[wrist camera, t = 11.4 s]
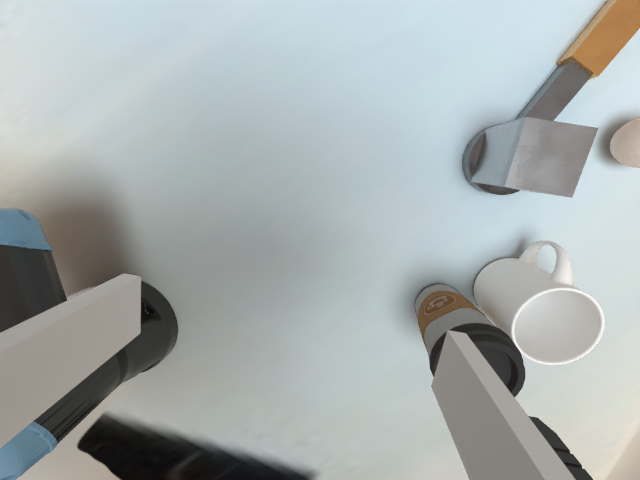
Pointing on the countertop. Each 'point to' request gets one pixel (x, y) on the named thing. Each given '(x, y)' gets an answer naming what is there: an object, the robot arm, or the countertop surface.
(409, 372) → the countertop surface
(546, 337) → the mug
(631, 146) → the egg
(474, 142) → the ratchet
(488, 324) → the coffee cup
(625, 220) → the countertop surface
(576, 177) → the grey rectangular block
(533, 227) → the countertop surface
